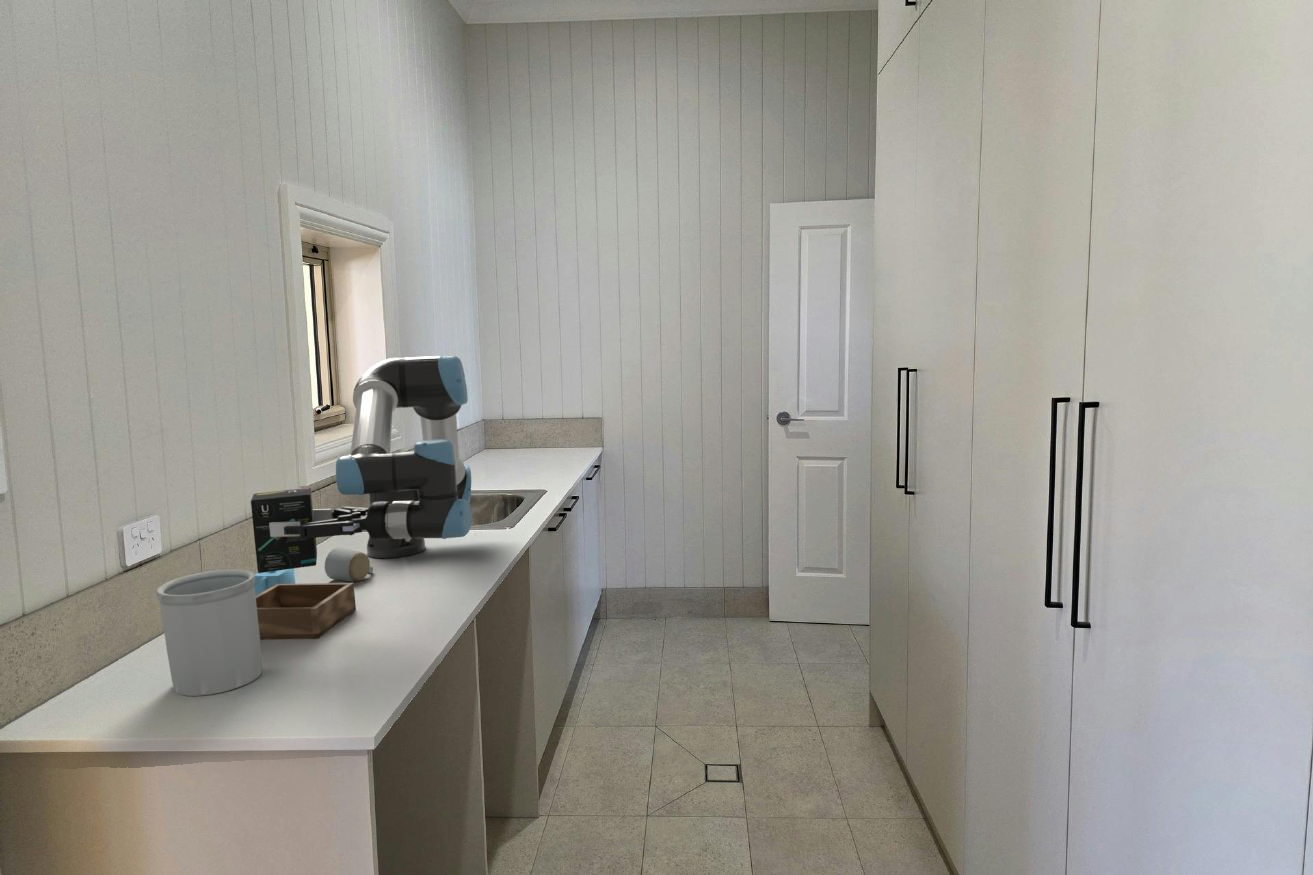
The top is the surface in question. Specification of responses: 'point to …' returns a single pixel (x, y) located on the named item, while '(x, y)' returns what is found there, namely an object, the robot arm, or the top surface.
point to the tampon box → (289, 548)
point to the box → (303, 609)
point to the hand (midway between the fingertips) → (286, 522)
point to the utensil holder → (211, 631)
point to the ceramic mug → (347, 565)
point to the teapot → (273, 579)
